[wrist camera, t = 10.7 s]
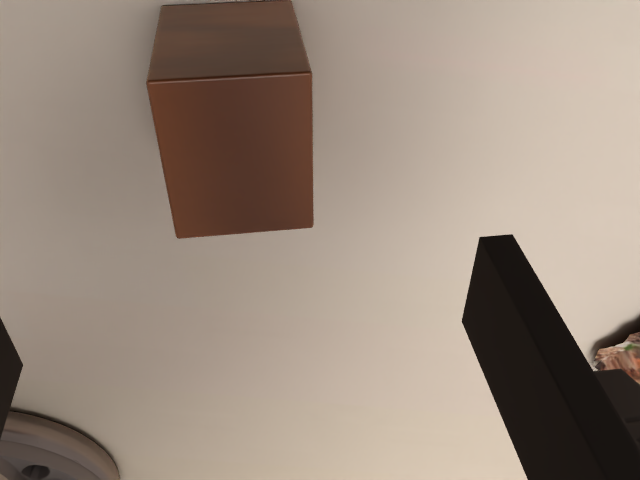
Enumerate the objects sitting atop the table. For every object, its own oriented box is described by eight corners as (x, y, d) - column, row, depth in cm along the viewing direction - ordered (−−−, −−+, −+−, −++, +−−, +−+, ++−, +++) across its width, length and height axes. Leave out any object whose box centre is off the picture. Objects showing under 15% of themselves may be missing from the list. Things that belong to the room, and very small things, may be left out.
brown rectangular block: (183, 144, 25) (175, 240, 20) (160, 5, 21) (145, 81, 16) (295, 137, 25) (313, 228, 20) (291, -1, 21) (312, 72, 17)
